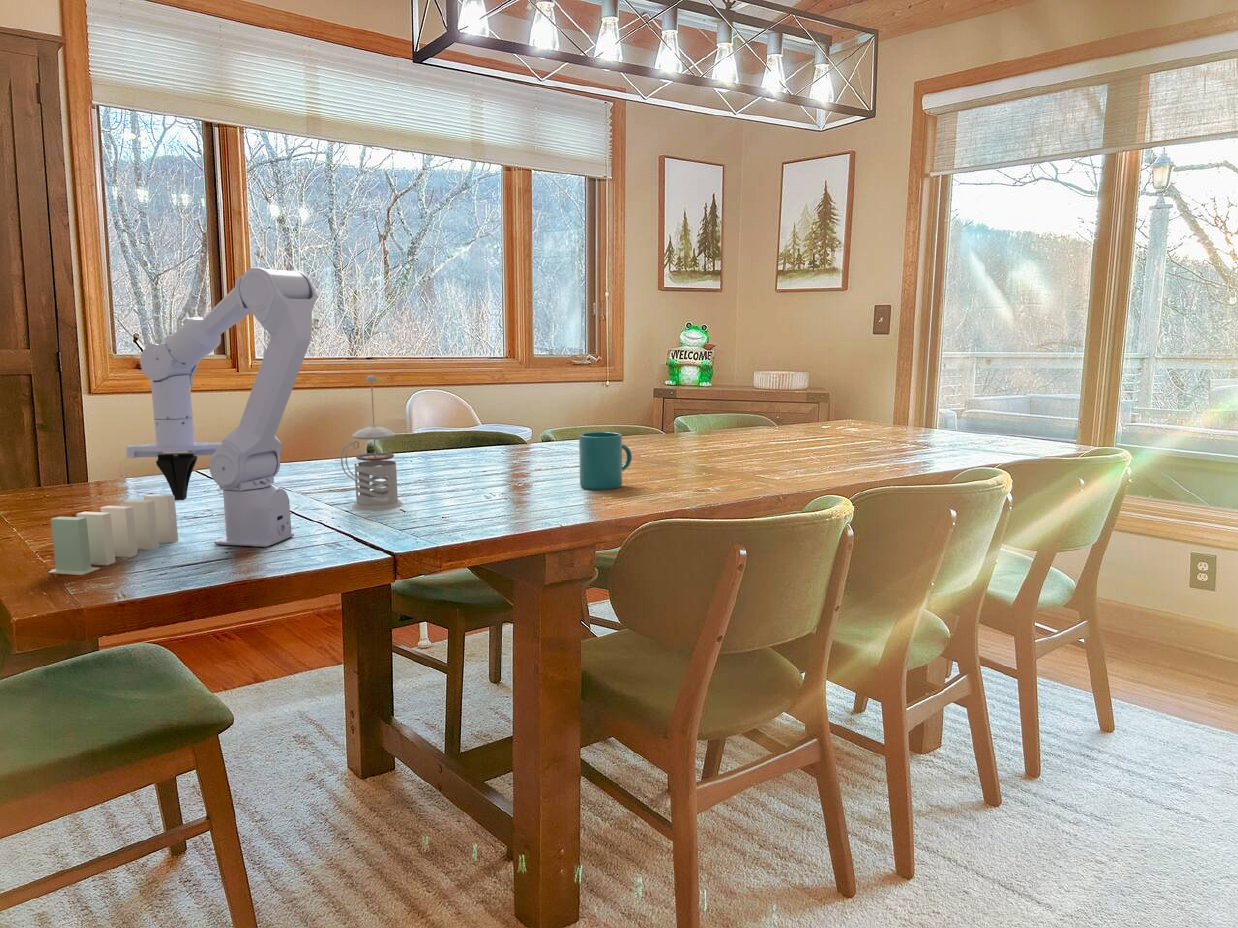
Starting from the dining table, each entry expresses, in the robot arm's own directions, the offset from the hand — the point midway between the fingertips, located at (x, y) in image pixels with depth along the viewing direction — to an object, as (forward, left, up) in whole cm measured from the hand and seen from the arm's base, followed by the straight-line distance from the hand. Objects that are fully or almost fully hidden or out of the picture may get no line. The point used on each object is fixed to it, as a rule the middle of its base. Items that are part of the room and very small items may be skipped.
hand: (180, 499), depth 148 cm
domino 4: (0, +9, -6) cm, 11 cm away
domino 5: (0, +5, -6) cm, 8 cm away
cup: (-60, -56, -6) cm, 82 cm away
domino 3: (0, +14, -6) cm, 15 cm away
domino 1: (0, +23, -6) cm, 24 cm away
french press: (-20, -28, -6) cm, 35 cm away
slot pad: (0, +23, -6) cm, 24 cm away
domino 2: (0, +18, -6) cm, 19 cm away
